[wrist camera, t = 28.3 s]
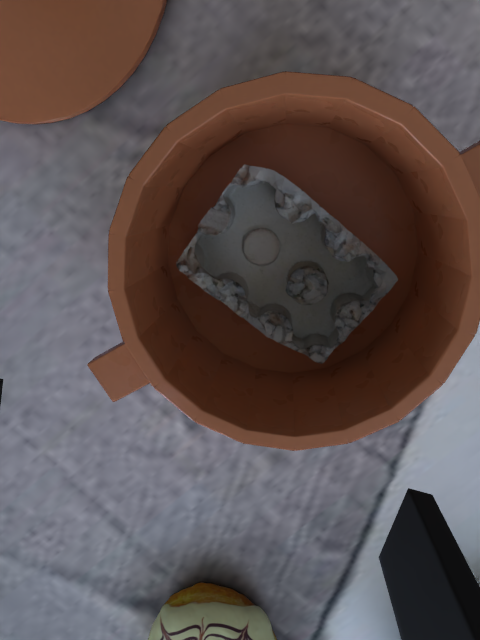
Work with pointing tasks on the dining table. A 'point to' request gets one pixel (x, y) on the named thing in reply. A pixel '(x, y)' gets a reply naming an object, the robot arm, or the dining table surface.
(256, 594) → the dining table surface
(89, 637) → the dining table surface
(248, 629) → the decorated donut
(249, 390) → the pot
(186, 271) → the egg carton
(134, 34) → the lid
